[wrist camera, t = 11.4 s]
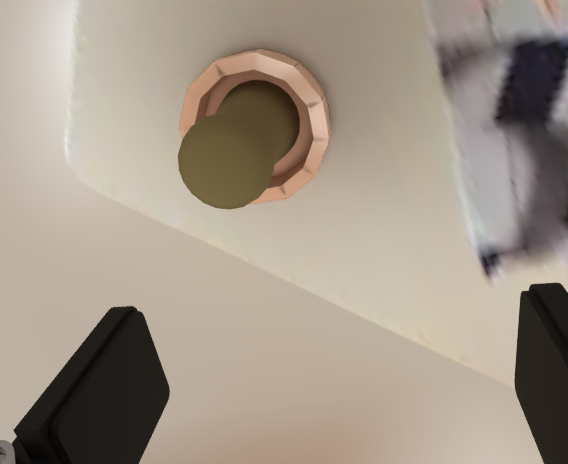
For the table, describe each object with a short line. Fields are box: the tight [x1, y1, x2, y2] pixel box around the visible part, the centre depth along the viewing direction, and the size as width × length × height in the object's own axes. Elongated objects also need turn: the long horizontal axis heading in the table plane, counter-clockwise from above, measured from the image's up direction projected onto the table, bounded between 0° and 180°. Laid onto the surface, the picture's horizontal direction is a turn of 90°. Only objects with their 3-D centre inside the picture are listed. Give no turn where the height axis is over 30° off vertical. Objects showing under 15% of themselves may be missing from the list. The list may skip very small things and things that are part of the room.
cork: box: [178, 80, 300, 209], centre depth 28 cm, size 6×6×11 cm
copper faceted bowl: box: [179, 49, 331, 204], centre depth 33 cm, size 10×10×4 cm
